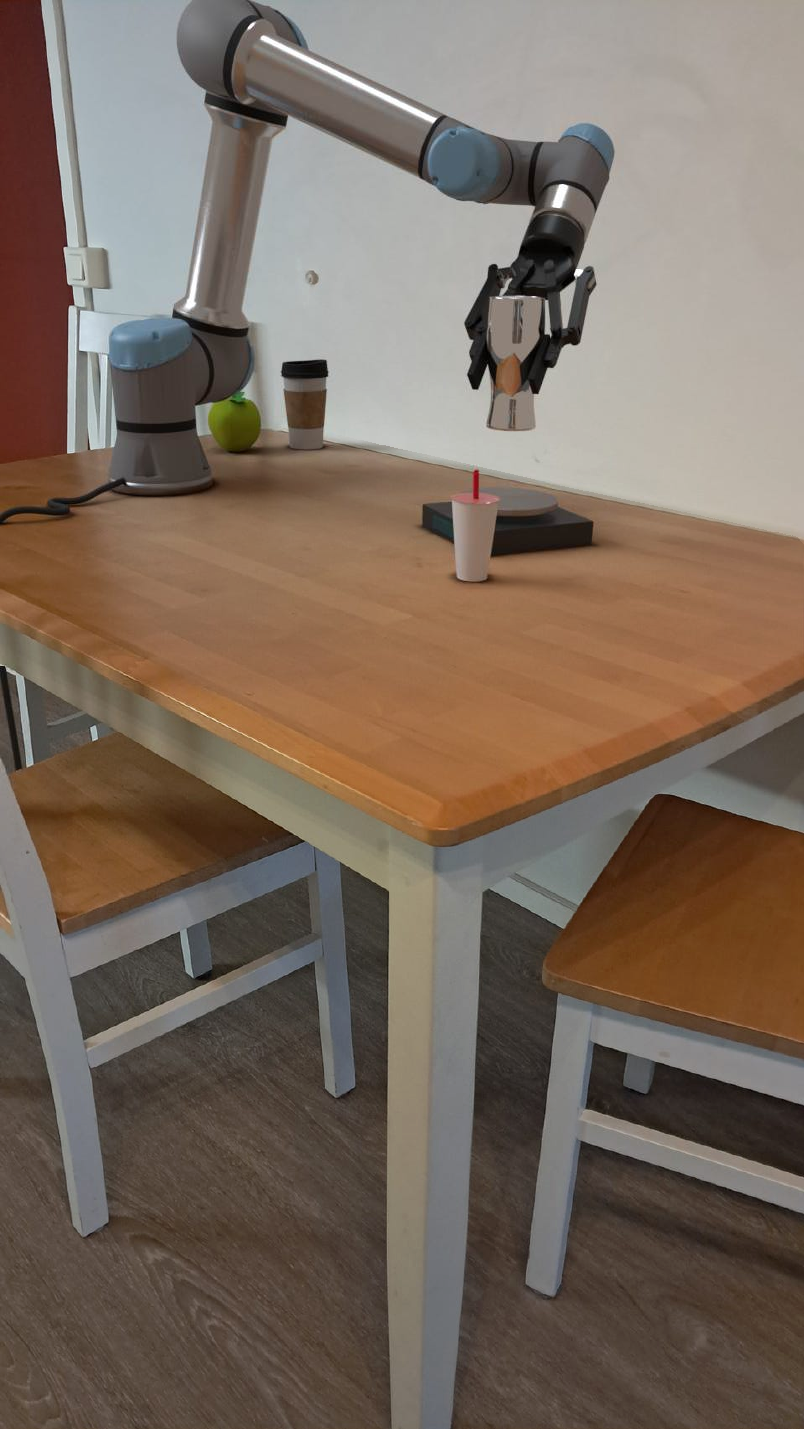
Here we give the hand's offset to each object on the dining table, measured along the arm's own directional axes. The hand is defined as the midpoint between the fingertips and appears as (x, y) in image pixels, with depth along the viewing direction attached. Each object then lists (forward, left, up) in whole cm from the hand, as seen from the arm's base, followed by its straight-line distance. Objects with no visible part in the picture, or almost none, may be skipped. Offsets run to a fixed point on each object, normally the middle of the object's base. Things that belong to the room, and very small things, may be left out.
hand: (502, 384), depth 126 cm
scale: (+3, +1, -19) cm, 19 cm away
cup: (-14, -9, -19) cm, 25 cm away
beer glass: (+3, +1, -6) cm, 7 cm away
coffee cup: (+24, +67, -19) cm, 74 cm away
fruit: (+12, +72, -19) cm, 76 cm away
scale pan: (+3, +1, -15) cm, 15 cm away
